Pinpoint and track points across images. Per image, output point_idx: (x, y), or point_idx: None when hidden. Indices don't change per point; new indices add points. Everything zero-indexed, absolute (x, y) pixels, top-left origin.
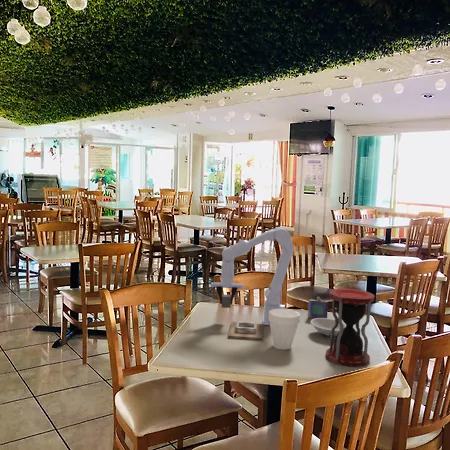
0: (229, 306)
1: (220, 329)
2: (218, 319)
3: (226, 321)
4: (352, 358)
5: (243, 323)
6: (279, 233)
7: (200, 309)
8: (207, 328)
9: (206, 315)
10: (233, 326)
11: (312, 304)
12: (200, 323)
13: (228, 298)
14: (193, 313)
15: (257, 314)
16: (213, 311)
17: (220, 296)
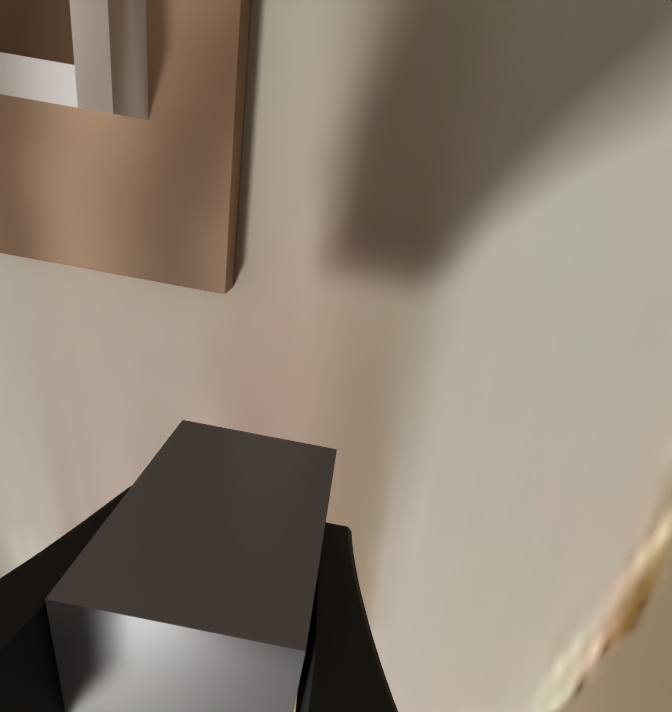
0: (186, 438)
1: (384, 42)
2: (369, 439)
3: (288, 378)
4: None
5: (19, 57)
6: None
7: (499, 680)
8: (568, 80)
9: (476, 548)
10: (194, 88)
11: None
12: (609, 301)
13: (132, 574)
14: (594, 600)
15: (18, 558)
16: (392, 635)
17: (347, 670)
